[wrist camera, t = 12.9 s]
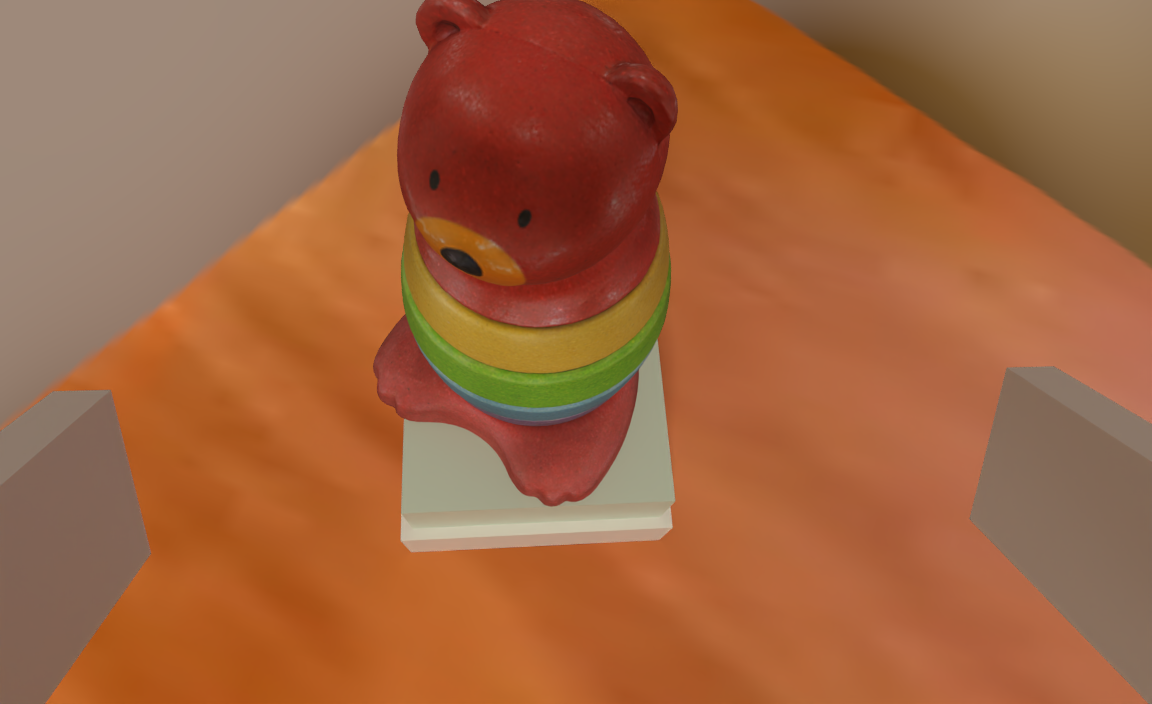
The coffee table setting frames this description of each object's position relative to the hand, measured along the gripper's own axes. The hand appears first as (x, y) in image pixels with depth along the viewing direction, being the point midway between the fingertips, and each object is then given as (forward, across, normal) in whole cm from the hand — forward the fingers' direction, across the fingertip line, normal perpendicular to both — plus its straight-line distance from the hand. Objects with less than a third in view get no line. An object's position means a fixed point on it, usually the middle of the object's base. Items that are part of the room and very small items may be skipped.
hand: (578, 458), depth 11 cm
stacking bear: (+20, 0, -7) cm, 22 cm away
